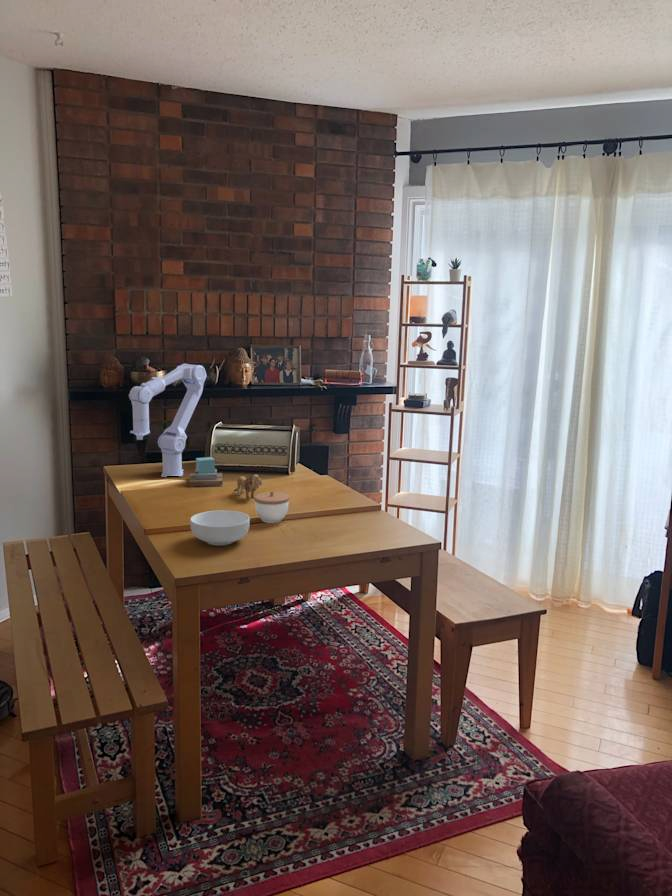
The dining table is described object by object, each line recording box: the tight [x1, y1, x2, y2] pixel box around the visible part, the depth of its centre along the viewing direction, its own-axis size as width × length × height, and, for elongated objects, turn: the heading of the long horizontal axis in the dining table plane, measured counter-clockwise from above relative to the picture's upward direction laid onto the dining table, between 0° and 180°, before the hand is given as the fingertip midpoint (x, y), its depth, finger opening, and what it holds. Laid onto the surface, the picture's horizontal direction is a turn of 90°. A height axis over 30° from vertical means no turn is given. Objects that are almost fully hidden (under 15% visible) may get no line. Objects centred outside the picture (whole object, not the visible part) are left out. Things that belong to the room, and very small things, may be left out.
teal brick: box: [195, 456, 216, 474], centre depth 274 cm, size 4×6×5 cm
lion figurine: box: [233, 474, 264, 501], centre depth 257 cm, size 15×5×9 cm, turn 44°
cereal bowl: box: [189, 509, 251, 547], centre depth 211 cm, size 17×17×7 cm
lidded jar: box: [254, 490, 290, 524], centre depth 231 cm, size 11×11×9 cm
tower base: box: [188, 468, 223, 487], centre depth 275 cm, size 12×12×4 cm
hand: (142, 455), depth 274 cm, fingers closed
